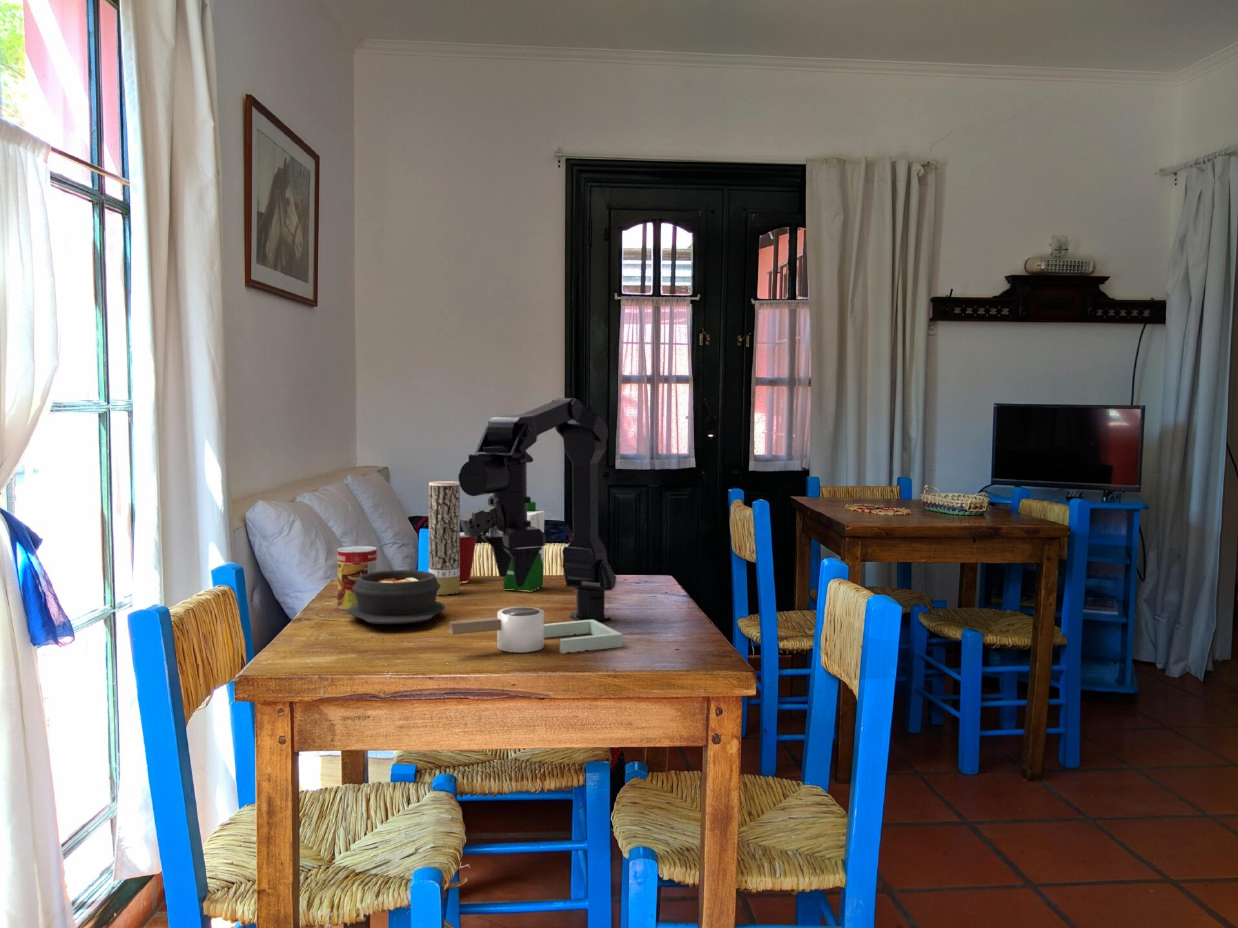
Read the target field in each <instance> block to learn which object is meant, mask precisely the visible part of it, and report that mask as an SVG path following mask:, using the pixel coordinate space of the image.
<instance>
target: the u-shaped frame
mask: <svg viewBox="0 0 1238 928" xmlns="http://www.w3.org/2000/svg"><path fill="white" fill-rule="evenodd" d="M574 634H576V635H582V636H576V637H566V638H565V636H574ZM584 634H586V635H585V636H583V635H584ZM587 634H590V635H587ZM556 637H564V638H559V653H561V652H562V653H561V654H567V653H566V652H571V653H578V651H580V652H586V651H585V650H589V651H595V650H605V649H612V648H622V647H623V633H621V632H619V631H617V630H616V629H613V628H611V627H609V626H607V625H605V624H603V623H601V622H600V621H595V620H593V619H592V620H582V621H578V620H572V621H564V622H563V621H561V622H552V623H544V639H546V638H556Z"/></svg>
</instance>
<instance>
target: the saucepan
mask: <svg viewBox="0 0 1238 928" xmlns="http://www.w3.org/2000/svg"><path fill="white" fill-rule="evenodd" d="M496 613H497V614H496V615H497V616H496V617H485V618H473V619H471V618H470V619H462V620H461V619H459V620H452V621H451V620H450V621H448V627H449V628H448V632H449V634H451V635H452V636H453V635H455V636H456V635H463V634H475V633H485V632H494V631H496V632H497V634H496V638H497V639H496V644H497V645H496V646H497V647H496V648H497V649H498V650H500V651H503V652H508V653H512V654H513V652H514V653H529V652H530V653H532V652H535V651H539V650H542V649H543V648H544V647H545V638H544V624H545V611H544V610H543V609H541V608H538V607H531V606H514V607H511V606H510V607H506V608H502V609H499V610H498V611H497V612H496Z"/></svg>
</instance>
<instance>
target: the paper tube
mask: <svg viewBox="0 0 1238 928" xmlns="http://www.w3.org/2000/svg"><path fill="white" fill-rule="evenodd" d="M460 489H461V487H460V484H459V481H455V480H454V481H447V480H443V481H442V480H441V481H437V480H436V481H429V482H428V572H429V573H432V574H434V575H435V576H436V579H437V582H438V583H439V584H440V585H441V587H440V588H439V589H438V591H437V595H436V596H446V595H445V594H453V595H456V594H458V593H459V592H460V586H461V584H460V533H461V530H460V527H461V523H460V521H459V517H460V516H461V513H460V512H461V511H460V510H461V509H460V506H461V503H460V502H461V501H460V500H461V497H460V496H461V491H460ZM457 592H458V593H457ZM455 593H456V594H455ZM438 594H439V595H438Z"/></svg>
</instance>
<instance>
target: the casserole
mask: <svg viewBox="0 0 1238 928" xmlns="http://www.w3.org/2000/svg"><path fill="white" fill-rule="evenodd" d="M440 587H441V585H440V584H439V583H438V582H437V579H436V576H435V575H434V574H432V573H429V571H424V570H423V571H422V570H414V569H398V570H397V569H396V570H395V569H393V570H392V569H391V570H380V571H377V572H372V573H368V574H364V575H361V576H359V577H358V578H357V581H356V584H355V585H354V586H353V587H352V590H353V592H354V593H355V595H356V600H357V604H356V605H354V606H352V607H350V608H349V609H348V610H347V613H348V614H349V615H351V616H352V617H354V618H358V619H361V620H363V621H365V622H367V623H369V624H376V625H399V624H412V623H413V624H414V623H420V622H426V621H428V620H431V619H432V618H433V617H434V616H435V615H438V614H439V613H441V612H443V611H445V609H446V607H445V605H444V604H443V603H441V602H439V601H436V599H437V596H438V595H437V591H438V589H439V588H440Z"/></svg>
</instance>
